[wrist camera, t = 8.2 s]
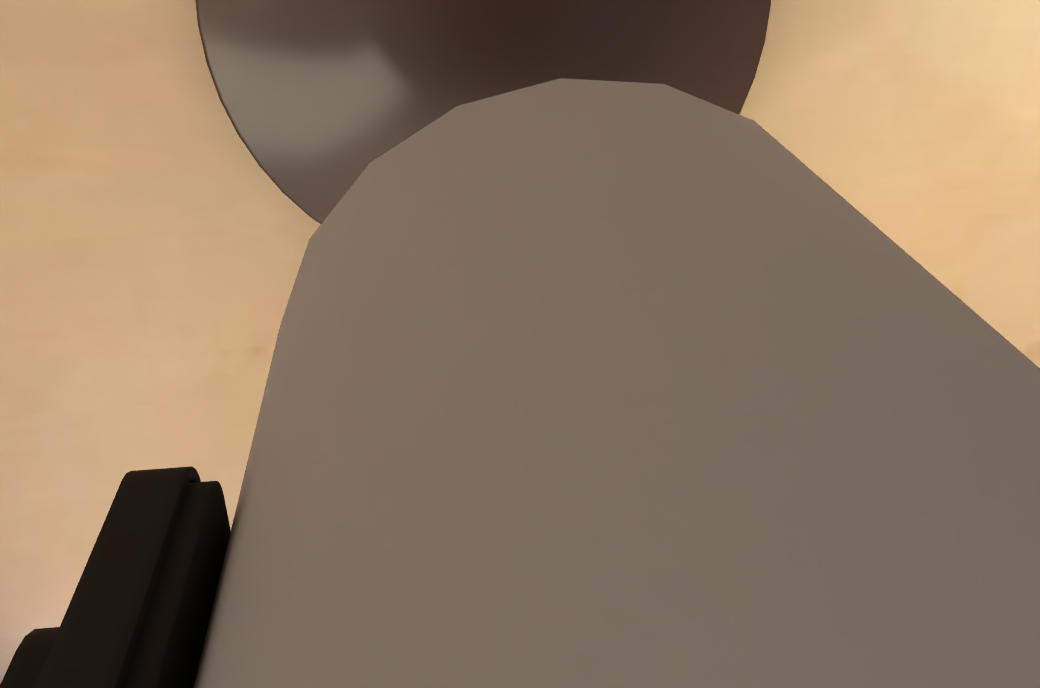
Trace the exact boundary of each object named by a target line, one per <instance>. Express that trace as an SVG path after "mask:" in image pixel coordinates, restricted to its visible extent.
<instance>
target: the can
mask: <svg viewBox="0 0 1040 688" xmlns="http://www.w3.org/2000/svg"><path fill="white" fill-rule="evenodd" d="M193 688H1040V368H1039V367H1037V366H1036V365H1035V364H1034V363H1033V362H1032V361H1031V360H1029V359H1028V358H1027V357H1026V356H1025V355H1024V354H1023V353H1021V352H1020V351H1019V350H1018V349H1017V348H1016V347H1014V346H1013V345H1012V344H1011V343H1010V342H1009V341H1008V340H1006V339H1005V338H1004V337H1003V336H1002V335H1001V334H999V333H998V332H997V331H996V330H995V329H994V328H993V327H991V326H990V325H989V324H988V323H987V322H986V321H984V320H983V319H982V318H981V317H980V316H979V315H978V314H976V313H975V312H974V311H973V310H972V309H971V308H969V307H968V306H967V305H966V304H965V303H964V302H963V301H961V300H960V299H959V298H958V297H957V296H956V295H954V294H953V293H952V292H951V291H950V290H949V289H948V288H946V287H945V286H944V285H943V284H942V283H941V282H939V281H938V280H937V279H936V278H935V277H934V276H933V275H931V274H930V273H929V272H928V271H927V270H926V269H924V268H923V267H922V266H921V265H920V264H919V263H918V262H916V261H915V260H914V259H913V258H912V257H911V256H909V255H908V254H907V253H906V252H905V251H904V250H903V249H901V248H900V247H899V246H898V245H897V244H896V243H894V242H893V241H892V240H891V239H890V238H889V237H888V236H886V235H885V234H884V233H883V232H882V231H881V230H879V229H878V228H877V227H876V226H875V225H874V224H873V223H871V222H870V221H869V220H868V219H867V218H866V217H864V216H863V215H862V214H861V213H860V212H859V211H858V210H856V209H855V208H854V207H853V206H852V205H851V204H849V203H848V202H847V201H846V200H845V199H844V198H843V197H841V196H840V195H839V194H838V193H837V192H836V191H834V190H833V189H832V188H831V187H830V186H829V185H828V184H826V183H825V182H824V181H823V180H822V179H821V178H820V177H818V176H817V175H816V174H815V173H814V172H813V171H811V170H810V169H809V168H808V167H807V166H806V165H805V164H803V163H802V162H801V161H800V160H799V159H798V158H796V157H795V156H794V155H793V154H792V153H791V152H790V151H788V150H787V149H786V148H785V147H784V146H783V145H781V144H780V143H779V142H778V141H777V140H776V139H775V138H773V137H772V136H771V135H770V134H769V133H768V132H766V131H765V130H764V129H763V128H762V127H761V126H760V125H758V124H757V123H756V122H755V121H753V120H751V119H748V118H746V117H743V116H741V115H739V114H736V113H734V112H731V111H729V110H726V109H724V108H722V107H719V106H717V105H714V104H712V103H709V102H707V101H704V100H702V99H700V98H697V97H695V96H692V95H690V94H687V93H685V92H682V91H680V90H678V89H675V88H673V87H670V86H668V85H665V84H655V83H637V82H619V81H601V80H582V79H564V78H560V79H556V80H552V81H548V82H545V83H541V84H537V85H534V86H530V87H526V88H522V89H519V90H515V91H511V92H508V93H504V94H500V95H496V96H493V97H489V98H485V99H481V100H478V101H474V102H470V103H467V104H463V105H459V106H457V107H455V108H454V109H452V110H450V111H449V112H447V113H446V114H444V115H443V116H441V117H440V118H438V119H437V120H435V121H434V122H432V123H430V124H429V125H427V126H426V127H424V128H423V129H421V130H420V131H418V132H417V133H415V134H414V135H412V136H410V137H409V138H407V139H406V140H404V141H403V142H401V143H400V144H398V145H397V146H395V147H394V148H392V149H390V150H389V151H387V152H386V153H384V154H383V155H381V156H380V157H378V158H377V159H375V160H374V161H372V162H370V163H369V165H368V166H367V167H366V168H365V170H364V171H363V172H362V174H361V175H360V176H359V177H358V179H357V180H356V181H355V182H354V184H353V185H352V186H351V187H350V189H349V190H348V191H347V192H346V194H345V195H344V196H343V198H342V199H341V200H340V201H339V203H338V204H337V205H336V206H335V208H334V209H333V210H332V211H331V213H330V214H329V215H328V216H327V218H326V219H325V220H324V222H323V223H322V224H321V225H320V227H319V228H318V229H317V230H316V232H315V233H314V234H313V235H312V237H311V238H310V239H309V242H308V245H307V248H306V251H305V254H304V256H303V259H302V262H301V265H300V268H299V271H298V274H297V277H296V280H295V283H294V286H293V289H292V292H291V295H290V298H289V301H288V304H287V307H286V310H285V313H284V316H283V319H282V322H281V325H280V329H279V333H278V337H277V341H276V346H275V350H274V354H273V358H272V362H271V366H270V371H269V375H268V379H267V383H266V387H265V391H264V396H263V400H262V404H261V408H260V412H259V416H258V421H257V425H256V429H255V433H254V437H253V441H252V446H251V450H250V454H249V458H248V462H247V466H246V470H245V475H244V479H243V483H242V487H241V491H240V495H239V500H238V504H237V508H236V512H235V516H234V520H233V525H232V529H231V533H230V537H229V541H228V545H227V550H226V554H225V558H224V562H223V566H222V570H221V575H220V579H219V583H218V587H217V591H216V595H215V600H214V604H213V608H212V612H211V616H210V620H209V625H208V629H207V633H206V637H205V641H204V645H203V649H202V654H201V658H200V662H199V666H198V670H197V674H196V679H195V683H194V687H193Z"/></svg>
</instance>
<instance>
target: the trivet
mask: <svg viewBox="0 0 1040 688" xmlns="http://www.w3.org/2000/svg"><path fill="white" fill-rule="evenodd" d="M770 5H771V0H196V10H197V20H198V27H199V31H200V36H201V40H202V44H203V49H204V53H205V57H206V62H207V65H208V68H209V71H210V73H211V76H212V79H213V82H214V84H215V87H216V90H217V93H218V95H219V98H220V101H221V102H222V104H223V106H224V108H225V110H226V112H227V114H228V116H229V118H230V120H231V122H232V124H233V126H234V128H235V130H236V132H237V134H238V135H239V137H240V138H241V140H242V141H243V143H244V144H245V146H246V147H247V148H248V150H249V151H250V153H251V154H252V156H253V157H254V159H255V160H256V162H257V163H258V165H259V166H260V167H261V168H262V169H263V170H264V172H265V173H266V174H267V175H268V176H269V177H270V178H271V180H272V181H273V182H274V183H275V184H276V185H277V186H278V188H279V189H280V190H281V191H282V192H283V193H284V194H285V195H286V196H287V197H289V198H290V199H291V200H292V201H293V202H294V203H295V204H296V205H297V206H299V207H300V208H301V209H302V210H303V211H304V212H305V213H306V214H308V215H309V216H310V217H311V218H313V219H314V220H316V221H317V222H319V223H320V224H322V223H323V222H324V220H325V219H326V218H327V216H328V215H329V214H330V213H331V211H332V210H333V209H334V208H335V206H336V205H337V204H338V203H339V201H340V200H341V199H342V198H343V196H344V195H345V194H346V192H347V191H348V190H349V189H350V187H351V186H352V185H353V184H354V182H355V181H356V180H357V179H358V177H359V176H360V175H361V174H362V172H363V171H364V170H365V168H366V167H367V166H368V165H369V163H370V162H372V161H374V160H375V159H377V158H378V157H380V156H381V155H383V154H384V153H386V152H387V151H389V150H390V149H392V148H394V147H395V146H397V145H398V144H400V143H401V142H403V141H404V140H406V139H407V138H409V137H410V136H412V135H414V134H415V133H417V132H418V131H420V130H421V129H423V128H424V127H426V126H427V125H429V124H430V123H432V122H434V121H435V120H437V119H438V118H440V117H441V116H443V115H444V114H446V113H447V112H449V111H450V110H452V109H454V108H455V107H457V106H459V105H463V104H467V103H470V102H474V101H478V100H481V99H485V98H489V97H493V96H496V95H500V94H504V93H508V92H511V91H515V90H519V89H522V88H526V87H530V86H534V85H537V84H541V83H545V82H548V81H552V80H556V79H560V78H564V79H582V80H601V81H619V82H637V83H655V84H665V85H668V86H670V87H673V88H675V89H678V90H680V91H682V92H685V93H687V94H690V95H692V96H695V97H697V98H700V99H702V100H704V101H707V102H709V103H712V104H714V105H717V106H719V107H722V108H724V109H726V110H729V111H731V112H734V113H736V114H739V113H740V112H741V109H742V107H743V104H744V102H745V100H746V97H747V95H748V92H749V90H750V87H751V85H752V83H753V80H754V78H755V74H756V71H757V67H758V64H759V60H760V57H761V53H762V50H763V46H764V43H765V37H766V31H767V24H768V18H769V12H770Z"/></svg>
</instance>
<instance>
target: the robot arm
mask: <svg viewBox="0 0 1040 688" xmlns="http://www.w3.org/2000/svg"><path fill="white" fill-rule="evenodd" d="M230 533H231V531H230V526H229V521H228V515H227V510H226V505H225V500H224V495H223V491H222V488H221V485H220V483H219V482H218V481H209V482H201V481H200V477H199V475H198V473H197V471H196V469H195V468H193V467H180V468H166V469H152V470H139V471H130V472H128V473H126V475H125V476H124V478H123V479H122V481H121V484H120V486H119V489H118V491H117V493H116V496H115V498H114V500H113V503H112V505H111V507H110V510H109V512H108V515H107V517H106V519H105V522H104V524H103V526H102V529H101V531H100V533H99V536H98V538H97V541H96V543H95V545H94V548H93V550H92V552H91V555H90V557H89V559H88V562H87V564H86V567H85V569H84V571H83V574H82V576H81V578H80V581H79V583H78V585H77V588H76V590H75V593H74V595H73V597H72V600H71V602H70V604H69V607H68V609H67V611H66V614H65V616H64V619H63V621H62V623H61V626H60V627H54V628H42V629H34V630H33V631H32V632H30V633H29V634H28V635H26V636H25V637H24V639H23V641H22V642H21V644H20V645H19V647H18V649H17V650H16V652H15V654H14V656H13V659H12V661H11V663H10V665H9V667H8V669H7V672H6V674H5V676H4V678H3V680H2V682H1V685H0V688H193V687H194V683H195V679H196V674H197V670H198V666H199V662H200V658H201V654H202V649H203V645H204V641H205V637H206V633H207V629H208V625H209V620H210V616H211V612H212V608H213V604H214V600H215V595H216V591H217V587H218V583H219V579H220V575H221V570H222V566H223V562H224V558H225V554H226V550H227V545H228V541H229V537H230Z"/></svg>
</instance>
